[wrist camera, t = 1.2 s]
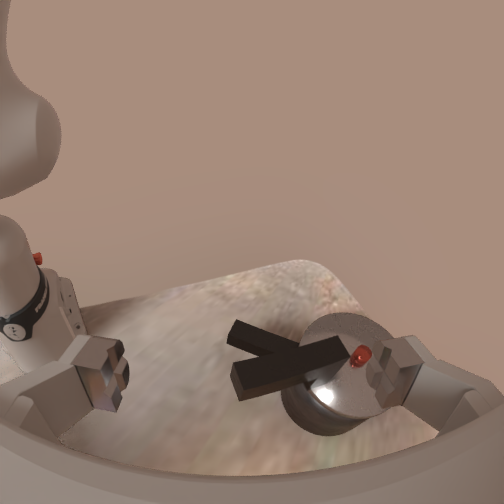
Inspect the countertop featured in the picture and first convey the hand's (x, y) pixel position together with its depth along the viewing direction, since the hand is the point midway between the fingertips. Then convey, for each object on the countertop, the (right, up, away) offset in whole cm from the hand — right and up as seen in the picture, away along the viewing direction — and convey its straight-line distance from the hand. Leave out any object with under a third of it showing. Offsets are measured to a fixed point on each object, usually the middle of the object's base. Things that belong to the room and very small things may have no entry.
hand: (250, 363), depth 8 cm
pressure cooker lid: (+10, -12, +25) cm, 30 cm away
